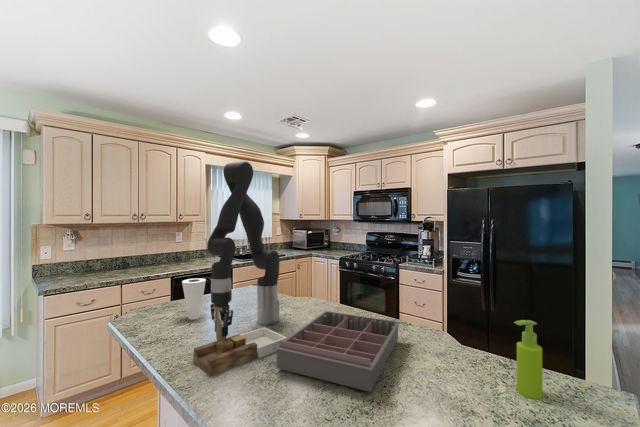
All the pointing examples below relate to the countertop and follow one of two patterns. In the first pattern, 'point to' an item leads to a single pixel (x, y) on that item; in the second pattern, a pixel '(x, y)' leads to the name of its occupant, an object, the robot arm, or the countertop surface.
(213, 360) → the slot board
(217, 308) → the handle
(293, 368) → the organizer tray
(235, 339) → the golden brown cube
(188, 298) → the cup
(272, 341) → the tray
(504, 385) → the countertop surface
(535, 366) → the soap dispenser
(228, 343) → the chip
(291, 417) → the countertop surface
